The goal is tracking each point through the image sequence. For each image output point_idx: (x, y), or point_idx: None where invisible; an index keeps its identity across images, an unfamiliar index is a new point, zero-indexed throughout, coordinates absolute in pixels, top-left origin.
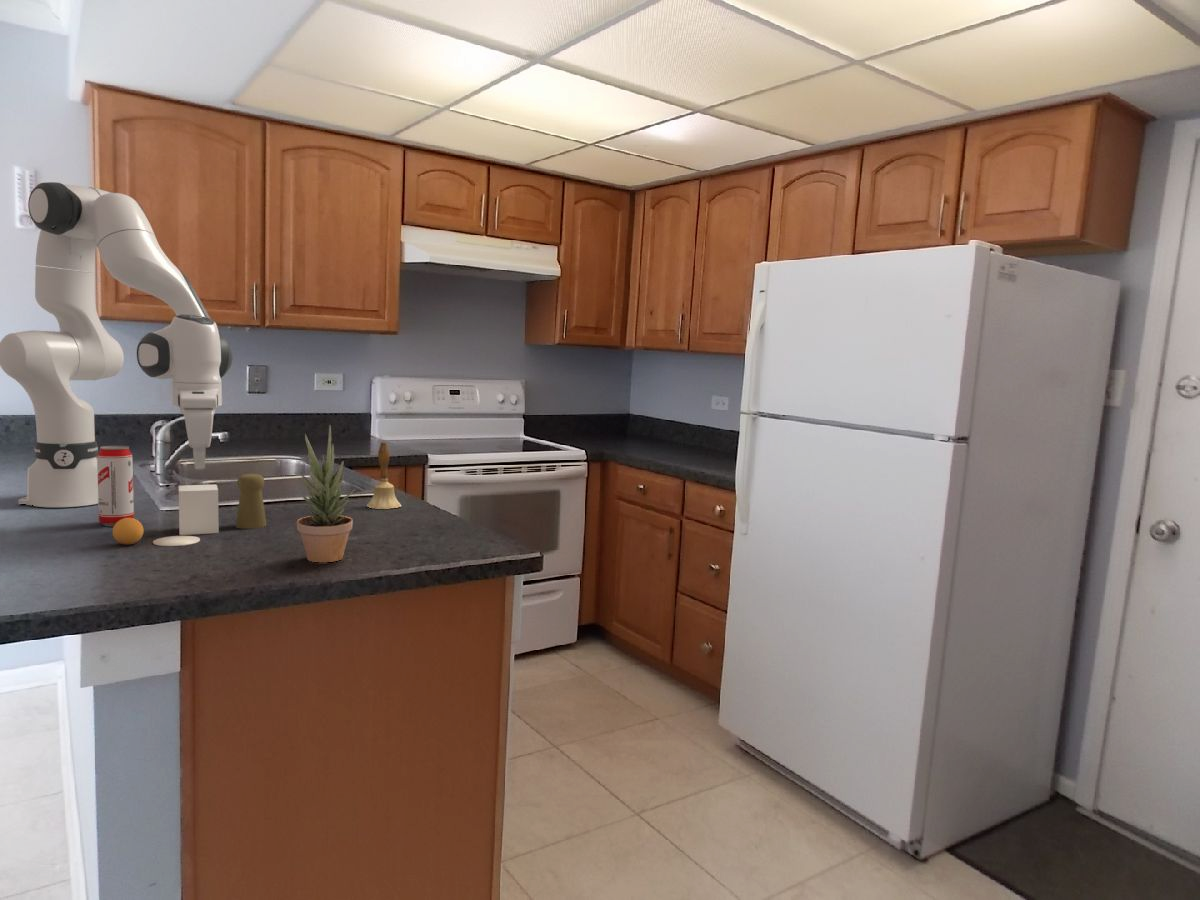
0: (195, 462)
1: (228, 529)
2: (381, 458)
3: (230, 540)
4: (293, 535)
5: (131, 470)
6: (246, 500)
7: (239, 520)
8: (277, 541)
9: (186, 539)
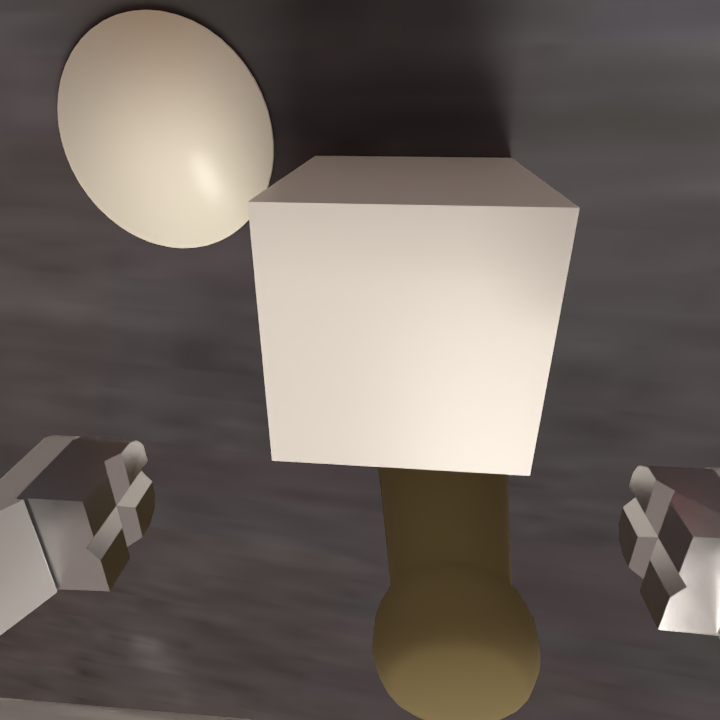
0: (8, 483)
1: None
2: None
3: (164, 360)
4: (219, 550)
5: None
6: (395, 533)
7: None
8: None
9: (181, 187)
